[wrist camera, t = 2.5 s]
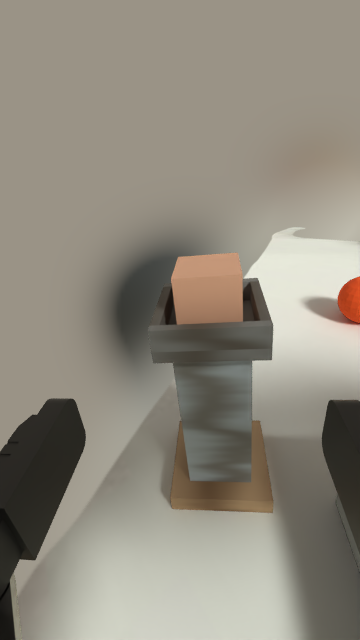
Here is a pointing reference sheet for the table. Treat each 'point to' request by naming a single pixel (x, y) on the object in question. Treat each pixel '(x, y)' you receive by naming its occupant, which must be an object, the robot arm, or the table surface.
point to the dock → (348, 532)
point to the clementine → (350, 300)
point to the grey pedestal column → (216, 404)
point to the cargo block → (208, 289)
